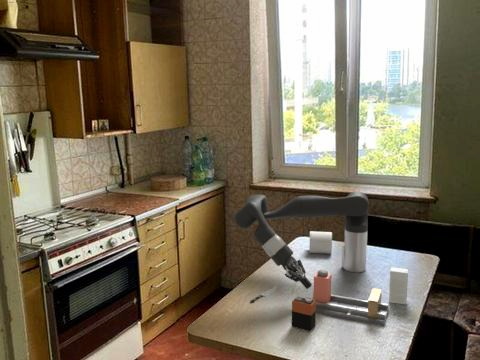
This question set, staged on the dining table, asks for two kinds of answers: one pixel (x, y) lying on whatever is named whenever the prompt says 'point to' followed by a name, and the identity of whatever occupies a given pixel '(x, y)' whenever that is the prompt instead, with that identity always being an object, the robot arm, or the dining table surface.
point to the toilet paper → (321, 242)
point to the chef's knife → (265, 294)
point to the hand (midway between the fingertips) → (309, 287)
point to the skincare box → (398, 285)
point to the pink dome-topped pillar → (322, 286)
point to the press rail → (356, 308)
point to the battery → (303, 313)
